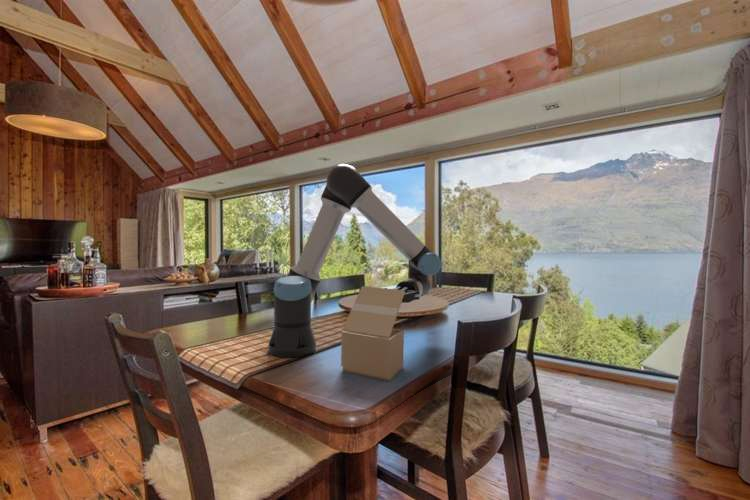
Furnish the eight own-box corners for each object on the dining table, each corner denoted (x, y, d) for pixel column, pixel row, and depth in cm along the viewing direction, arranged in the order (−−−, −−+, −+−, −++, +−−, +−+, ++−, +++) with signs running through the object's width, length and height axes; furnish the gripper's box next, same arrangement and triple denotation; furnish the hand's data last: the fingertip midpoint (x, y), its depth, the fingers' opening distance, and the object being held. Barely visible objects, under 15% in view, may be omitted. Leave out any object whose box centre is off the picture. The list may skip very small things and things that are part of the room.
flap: (343, 330, 94) (342, 328, 94) (362, 287, 104) (361, 286, 103) (389, 338, 88) (388, 336, 88) (405, 292, 98) (404, 290, 97)
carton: (340, 370, 95) (340, 331, 95) (357, 359, 104) (358, 323, 104) (389, 381, 89) (389, 339, 88) (403, 368, 98) (403, 330, 97)
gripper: (426, 302, 118) (401, 317, 97) (391, 299, 124) (360, 312, 102) (427, 281, 118) (402, 291, 96) (392, 278, 123) (361, 287, 102)
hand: (380, 301), depth 99 cm, fingers closed
